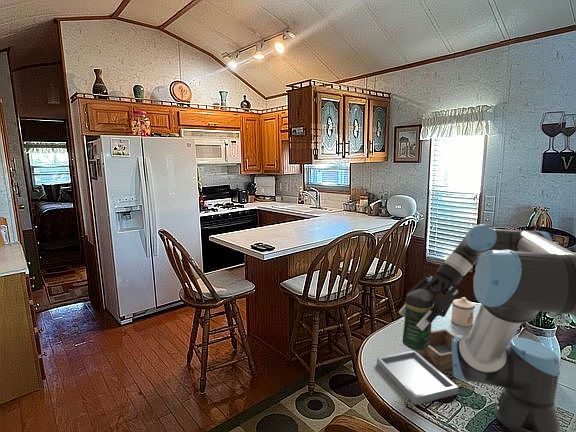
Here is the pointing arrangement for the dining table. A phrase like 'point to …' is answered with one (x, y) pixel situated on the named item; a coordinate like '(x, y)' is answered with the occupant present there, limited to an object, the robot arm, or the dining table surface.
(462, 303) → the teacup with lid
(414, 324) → the coffee jar
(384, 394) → the dining table surface
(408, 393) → the grey flat rectangular tray
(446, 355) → the walnut tub
